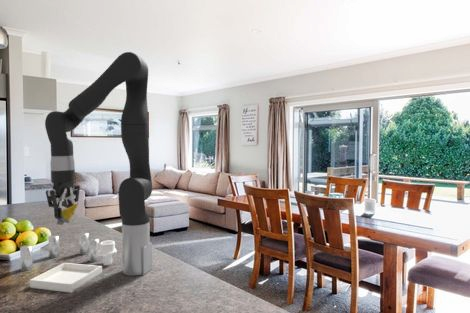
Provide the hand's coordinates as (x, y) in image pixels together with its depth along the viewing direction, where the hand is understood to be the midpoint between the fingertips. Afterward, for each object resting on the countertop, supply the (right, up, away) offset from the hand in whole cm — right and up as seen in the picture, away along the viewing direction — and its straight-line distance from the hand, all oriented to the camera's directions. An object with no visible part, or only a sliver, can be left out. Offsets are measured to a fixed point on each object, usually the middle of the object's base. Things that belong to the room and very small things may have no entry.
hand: (64, 216), depth 117 cm
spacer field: (-3, -19, +8) cm, 21 cm away
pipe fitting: (+13, -19, +6) cm, 24 cm away
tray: (+5, -19, -8) cm, 22 cm away
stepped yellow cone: (0, -3, +1) cm, 3 cm away
